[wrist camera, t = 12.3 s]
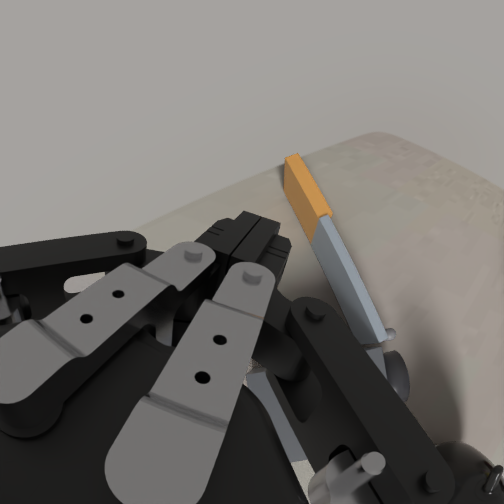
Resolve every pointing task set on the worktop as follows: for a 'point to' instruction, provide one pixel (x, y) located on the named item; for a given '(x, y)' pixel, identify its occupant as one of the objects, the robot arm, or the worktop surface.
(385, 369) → the camera body
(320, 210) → the grey and orange bar
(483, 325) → the worktop surface
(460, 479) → the pump dispenser
